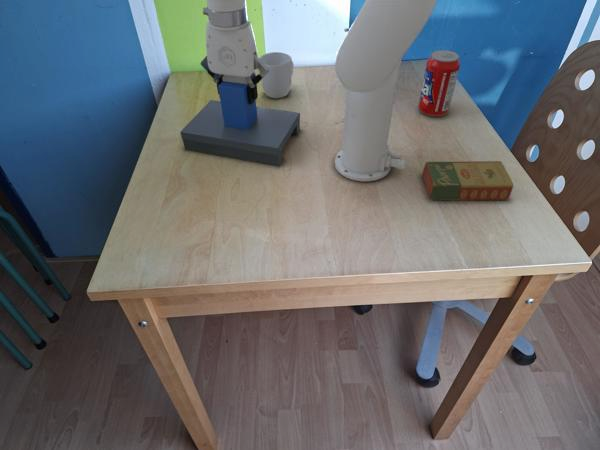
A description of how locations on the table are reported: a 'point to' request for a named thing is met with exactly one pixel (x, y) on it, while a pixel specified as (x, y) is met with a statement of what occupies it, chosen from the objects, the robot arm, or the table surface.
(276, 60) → the mug
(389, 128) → the robot arm
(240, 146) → the riser board
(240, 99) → the blue milk carton
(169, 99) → the table surface
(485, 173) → the carton
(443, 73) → the soda can
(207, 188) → the table surface
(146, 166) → the table surface
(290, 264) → the table surface
